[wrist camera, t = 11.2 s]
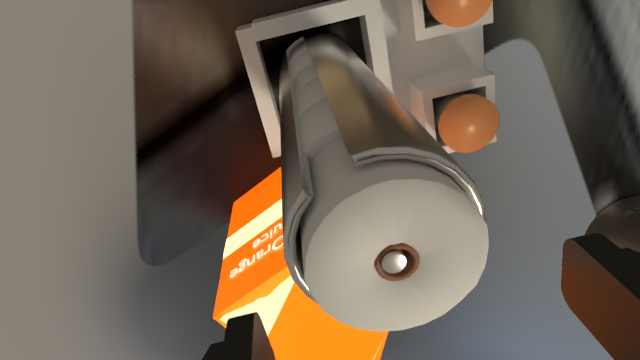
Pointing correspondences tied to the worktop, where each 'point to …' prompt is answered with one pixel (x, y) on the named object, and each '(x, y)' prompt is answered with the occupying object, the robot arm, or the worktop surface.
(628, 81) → the worktop surface
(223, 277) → the orange juice
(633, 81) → the worktop surface
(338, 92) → the silver metal cylinder
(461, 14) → the plunger
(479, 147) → the plunger
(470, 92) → the housing
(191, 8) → the worktop surface
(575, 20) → the worktop surface
